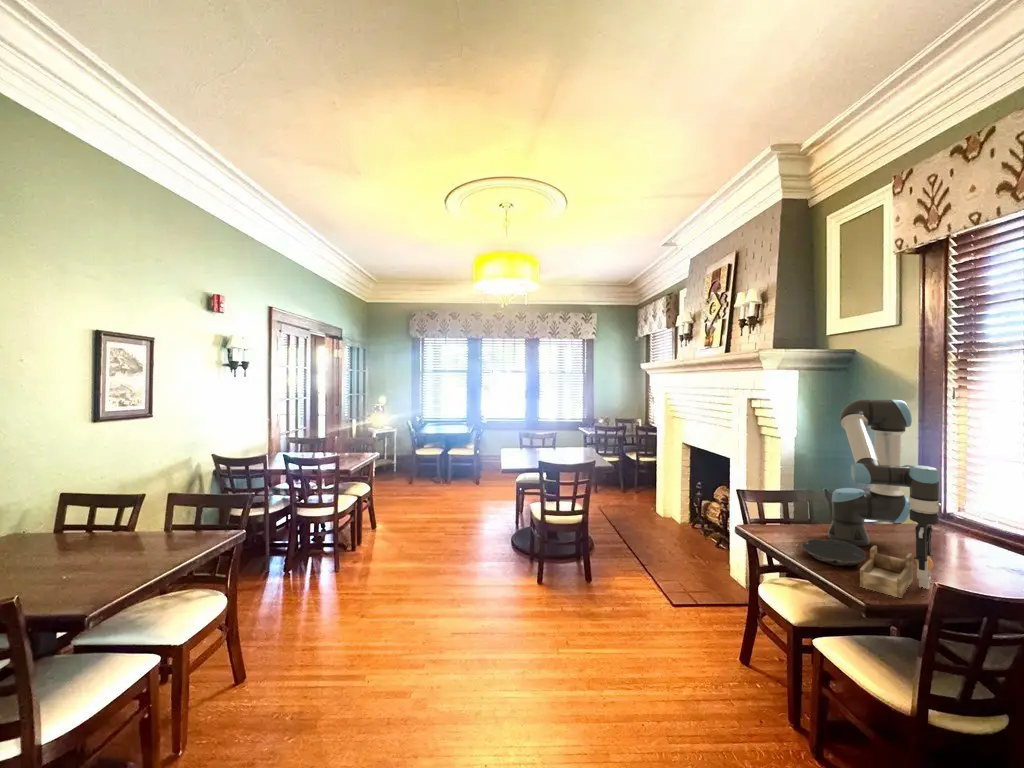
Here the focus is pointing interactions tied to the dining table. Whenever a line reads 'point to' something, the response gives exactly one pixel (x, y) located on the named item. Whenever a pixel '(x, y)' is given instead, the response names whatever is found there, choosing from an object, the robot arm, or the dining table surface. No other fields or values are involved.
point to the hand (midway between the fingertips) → (923, 575)
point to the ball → (930, 563)
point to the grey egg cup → (924, 582)
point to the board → (834, 552)
